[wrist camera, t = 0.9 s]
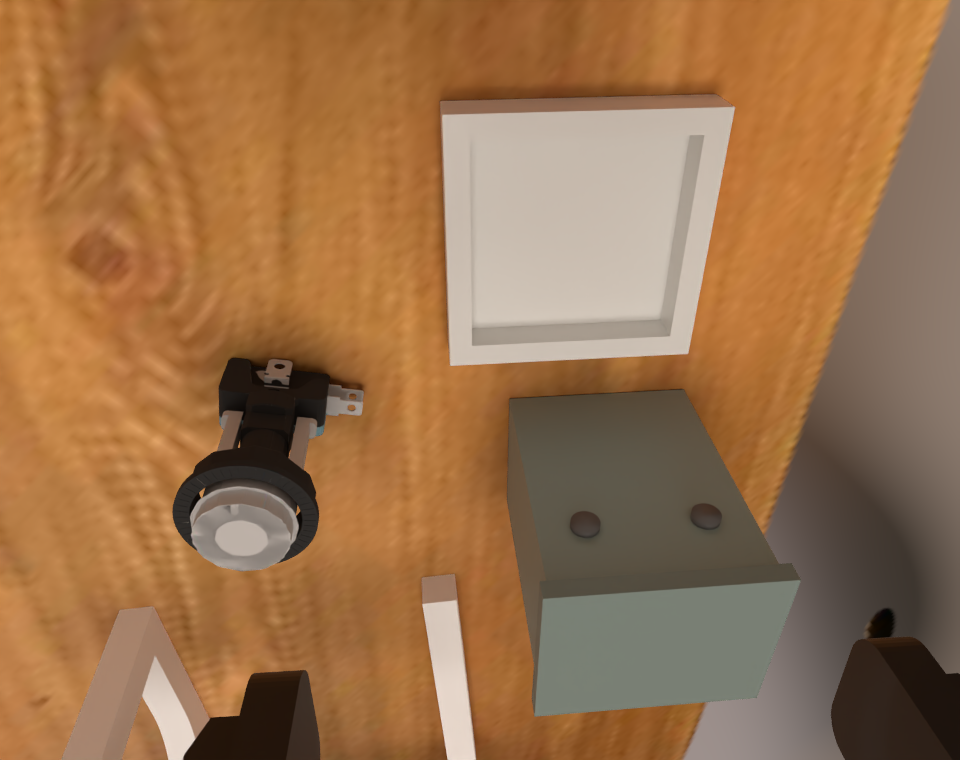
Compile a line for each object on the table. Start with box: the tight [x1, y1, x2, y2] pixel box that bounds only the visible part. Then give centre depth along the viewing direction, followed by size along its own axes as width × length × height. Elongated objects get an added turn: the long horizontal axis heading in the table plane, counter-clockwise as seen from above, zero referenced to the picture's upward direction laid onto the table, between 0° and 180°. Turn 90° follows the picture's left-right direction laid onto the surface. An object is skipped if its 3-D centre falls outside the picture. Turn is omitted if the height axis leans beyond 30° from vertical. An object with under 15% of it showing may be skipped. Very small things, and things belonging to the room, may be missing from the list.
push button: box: [173, 358, 364, 571], centre depth 31 cm, size 7×5×10 cm
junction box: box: [507, 389, 801, 716], centre depth 34 cm, size 8×10×13 cm
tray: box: [440, 94, 735, 366], centre depth 31 cm, size 11×11×2 cm
